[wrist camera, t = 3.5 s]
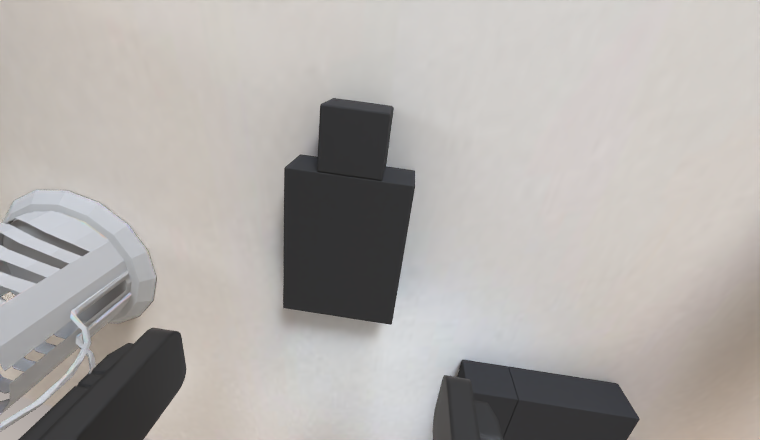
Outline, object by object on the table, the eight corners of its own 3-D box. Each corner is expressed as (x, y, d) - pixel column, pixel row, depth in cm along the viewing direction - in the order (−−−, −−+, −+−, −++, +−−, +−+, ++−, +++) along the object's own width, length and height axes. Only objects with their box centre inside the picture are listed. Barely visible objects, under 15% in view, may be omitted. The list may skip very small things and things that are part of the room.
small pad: (393, 297, 22) (391, 324, 20) (296, 282, 22) (282, 308, 20) (424, 110, 17) (426, 118, 15) (301, 93, 17) (284, 98, 15)
